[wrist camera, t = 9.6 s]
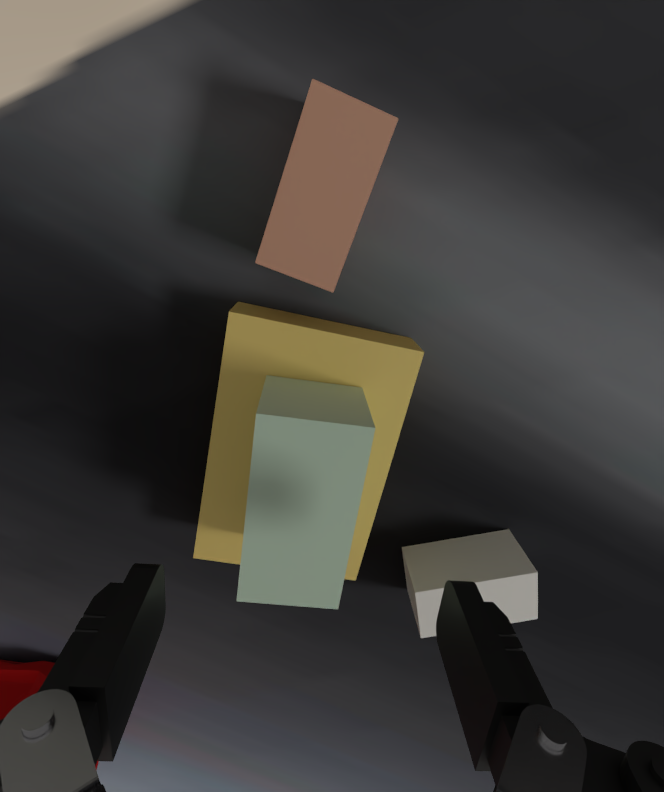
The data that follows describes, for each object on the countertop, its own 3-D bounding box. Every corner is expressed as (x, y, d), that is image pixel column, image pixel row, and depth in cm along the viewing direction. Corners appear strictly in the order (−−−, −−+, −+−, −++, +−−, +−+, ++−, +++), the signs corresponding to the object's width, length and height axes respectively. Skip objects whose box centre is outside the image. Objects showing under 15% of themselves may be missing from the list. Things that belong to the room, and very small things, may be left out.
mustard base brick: (408, 335, 21) (424, 352, 19) (350, 541, 25) (355, 580, 23) (239, 299, 20) (228, 311, 18) (206, 519, 24) (193, 558, 22)
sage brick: (362, 387, 19) (375, 428, 15) (332, 542, 22) (338, 609, 18) (266, 375, 19) (256, 413, 15) (249, 535, 21) (236, 601, 18)
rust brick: (311, 105, 18) (312, 78, 14) (381, 137, 18) (398, 118, 15) (263, 256, 19) (255, 263, 16) (328, 281, 20) (333, 292, 17)
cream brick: (507, 527, 25) (537, 572, 22) (509, 569, 26) (537, 618, 23) (401, 545, 25) (415, 592, 22) (406, 587, 26) (421, 638, 23)
